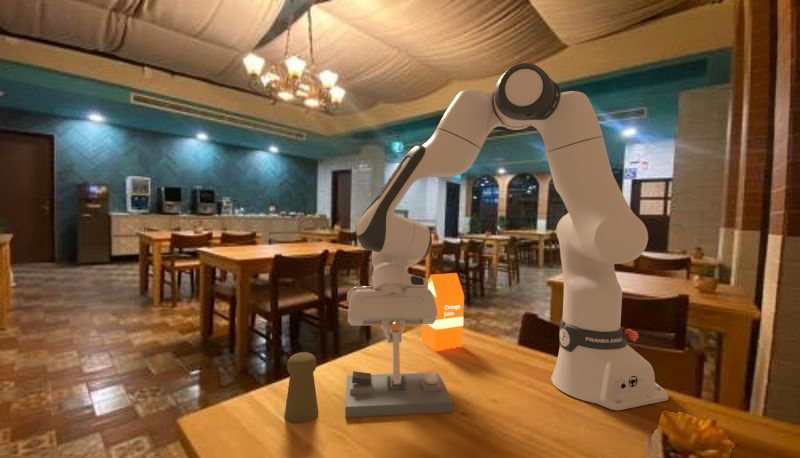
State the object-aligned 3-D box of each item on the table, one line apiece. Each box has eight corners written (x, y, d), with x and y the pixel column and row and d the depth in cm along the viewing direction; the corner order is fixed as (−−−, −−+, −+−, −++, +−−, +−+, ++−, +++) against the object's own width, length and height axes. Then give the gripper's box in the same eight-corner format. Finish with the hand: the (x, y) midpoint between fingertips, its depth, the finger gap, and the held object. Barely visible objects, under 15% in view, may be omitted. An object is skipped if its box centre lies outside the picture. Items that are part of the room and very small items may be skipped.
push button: (435, 378, 75) (435, 371, 75) (438, 384, 72) (438, 377, 72) (423, 378, 74) (423, 371, 74) (425, 384, 72) (425, 377, 72)
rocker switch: (369, 379, 73) (370, 373, 73) (370, 385, 71) (371, 379, 71) (352, 376, 72) (353, 371, 72) (352, 382, 70) (353, 376, 70)
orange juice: (421, 341, 103) (423, 272, 102) (447, 337, 107) (449, 270, 106) (435, 351, 96) (437, 277, 95) (462, 347, 100) (465, 275, 98)
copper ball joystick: (401, 386, 73) (400, 321, 77) (403, 387, 71) (401, 321, 75) (390, 386, 73) (389, 322, 77) (391, 387, 71) (390, 321, 75)
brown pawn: (309, 425, 63) (309, 364, 62) (277, 420, 64) (278, 360, 63) (323, 406, 69) (324, 350, 68) (294, 402, 70) (294, 347, 69)
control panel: (438, 381, 80) (438, 363, 80) (452, 412, 68) (453, 391, 68) (346, 384, 77) (346, 366, 77) (345, 417, 65) (345, 396, 65)
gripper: (347, 279, 83) (345, 336, 74) (434, 279, 85) (443, 334, 76) (347, 293, 88) (345, 349, 79) (429, 293, 90) (437, 346, 81)
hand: (394, 341), depth 78 cm, fingers closed
